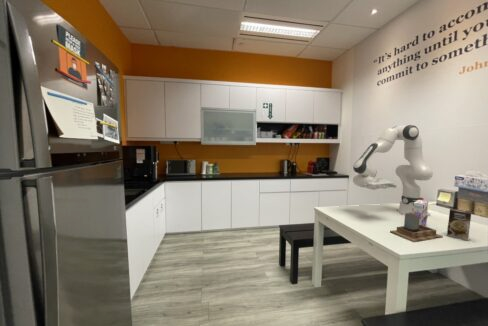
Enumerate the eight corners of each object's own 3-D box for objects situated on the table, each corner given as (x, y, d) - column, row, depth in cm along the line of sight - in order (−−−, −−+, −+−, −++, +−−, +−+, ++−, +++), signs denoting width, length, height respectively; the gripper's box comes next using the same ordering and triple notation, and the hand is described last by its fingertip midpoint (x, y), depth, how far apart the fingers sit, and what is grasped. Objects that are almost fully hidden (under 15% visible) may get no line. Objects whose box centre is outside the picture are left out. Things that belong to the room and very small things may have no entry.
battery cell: (409, 231, 132) (411, 211, 131) (418, 234, 127) (420, 213, 126) (403, 232, 130) (405, 211, 129) (412, 235, 125) (414, 214, 124)
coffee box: (446, 236, 129) (449, 209, 128) (447, 233, 134) (449, 207, 132) (468, 241, 123) (471, 213, 121) (468, 237, 127) (471, 211, 126)
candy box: (421, 229, 140) (424, 204, 138) (410, 226, 144) (412, 202, 143) (426, 224, 149) (428, 201, 147) (416, 222, 153) (418, 199, 152)
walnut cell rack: (417, 228, 140) (417, 222, 140) (442, 237, 127) (443, 230, 127) (390, 232, 133) (390, 226, 133) (414, 242, 120) (414, 235, 119)
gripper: (362, 180, 155) (379, 183, 142) (383, 178, 162) (401, 181, 149) (361, 188, 156) (378, 192, 143) (382, 186, 162) (401, 190, 149)
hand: (390, 186), depth 146 cm, fingers open, 8 cm apart
